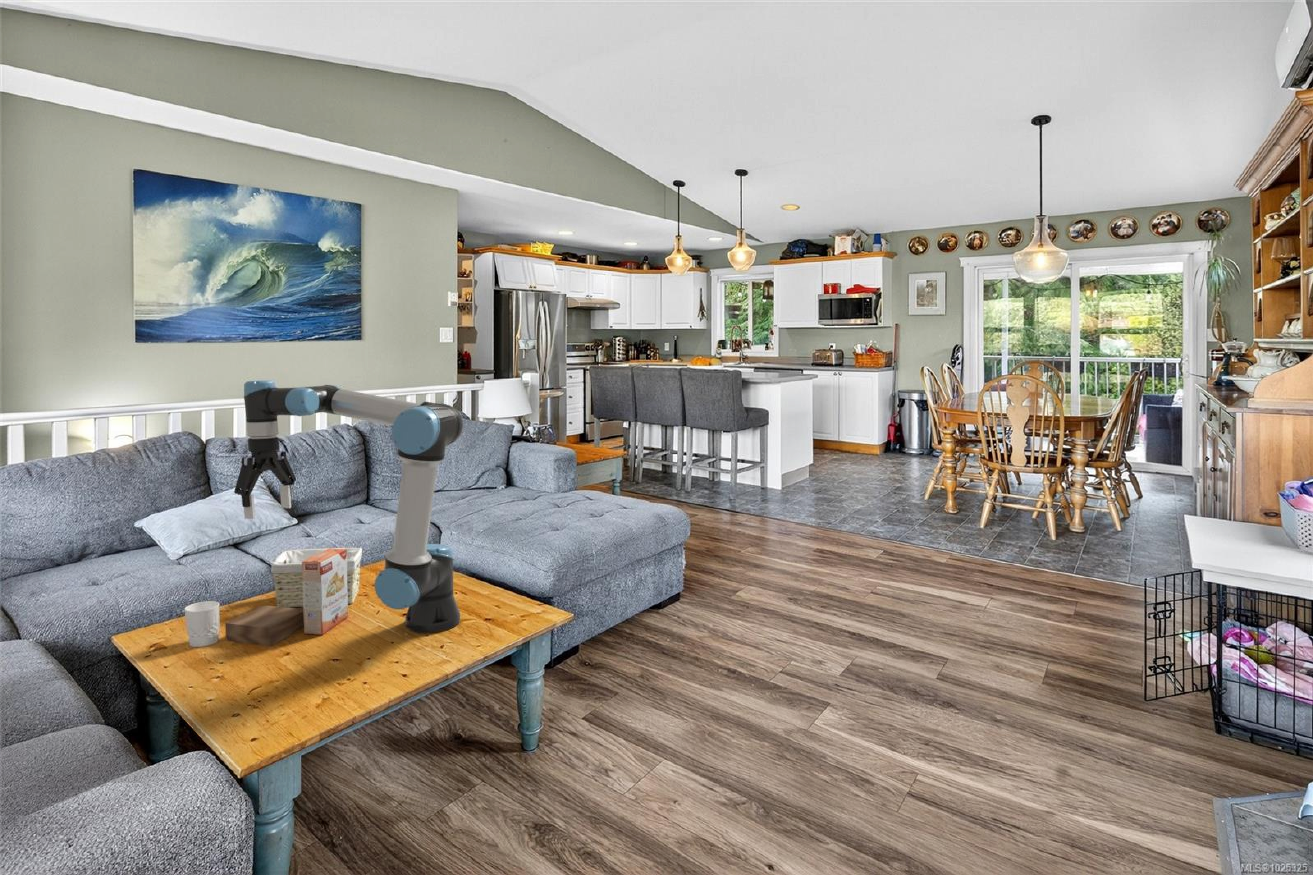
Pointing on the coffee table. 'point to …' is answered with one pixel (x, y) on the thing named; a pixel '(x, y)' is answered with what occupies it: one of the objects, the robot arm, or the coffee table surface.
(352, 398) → the robot arm
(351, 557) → the storage basket
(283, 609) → the walnut block
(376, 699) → the coffee table surface
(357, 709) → the coffee table surface
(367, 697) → the coffee table surface
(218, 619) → the white cup
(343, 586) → the cracker box
